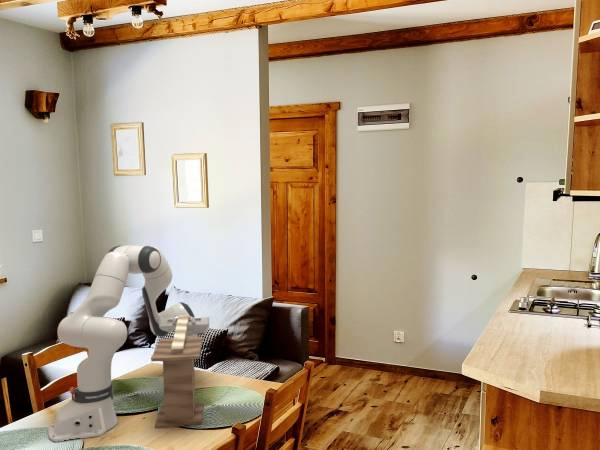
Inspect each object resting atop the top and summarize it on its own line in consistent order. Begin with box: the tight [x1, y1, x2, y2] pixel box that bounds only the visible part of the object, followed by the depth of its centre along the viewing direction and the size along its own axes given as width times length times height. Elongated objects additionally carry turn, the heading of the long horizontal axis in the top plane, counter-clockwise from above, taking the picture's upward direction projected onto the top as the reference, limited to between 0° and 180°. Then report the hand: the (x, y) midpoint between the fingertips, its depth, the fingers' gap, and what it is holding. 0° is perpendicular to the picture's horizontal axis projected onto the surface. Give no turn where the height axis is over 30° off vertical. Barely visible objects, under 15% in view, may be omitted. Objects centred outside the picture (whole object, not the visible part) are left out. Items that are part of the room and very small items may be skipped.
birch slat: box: [171, 315, 189, 354], centre depth 193 cm, size 30×4×2 cm, turn 8°
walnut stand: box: [150, 336, 205, 429], centre depth 187 cm, size 22×16×26 cm
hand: (183, 318), depth 204 cm, fingers closed on birch slat, 4 cm apart
